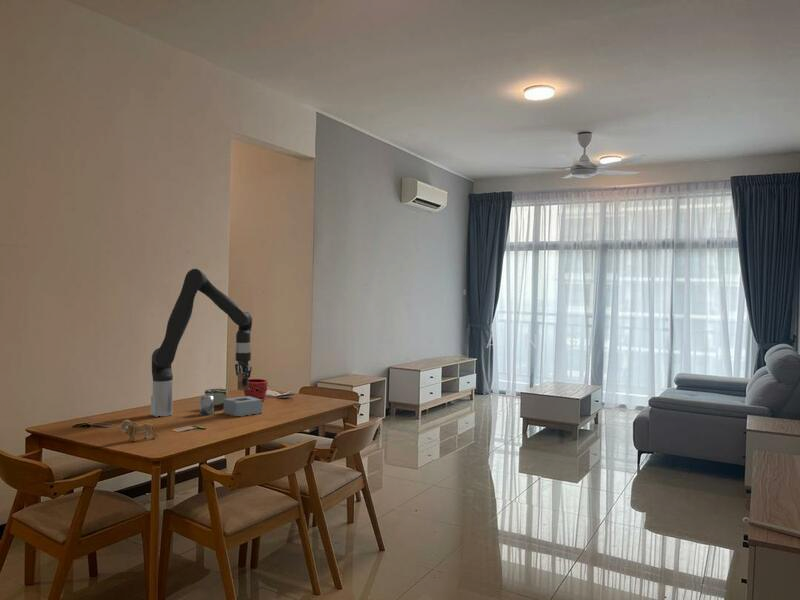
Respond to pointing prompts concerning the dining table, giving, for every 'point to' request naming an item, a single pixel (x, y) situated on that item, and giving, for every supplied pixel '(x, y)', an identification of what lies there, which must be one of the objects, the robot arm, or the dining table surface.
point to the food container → (217, 397)
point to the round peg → (206, 404)
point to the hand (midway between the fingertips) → (243, 385)
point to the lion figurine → (137, 429)
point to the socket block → (242, 406)
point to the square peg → (240, 382)
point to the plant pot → (256, 392)
